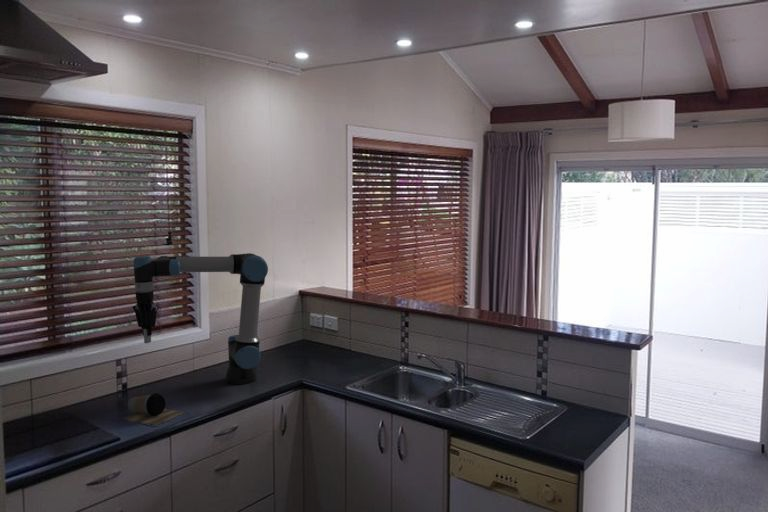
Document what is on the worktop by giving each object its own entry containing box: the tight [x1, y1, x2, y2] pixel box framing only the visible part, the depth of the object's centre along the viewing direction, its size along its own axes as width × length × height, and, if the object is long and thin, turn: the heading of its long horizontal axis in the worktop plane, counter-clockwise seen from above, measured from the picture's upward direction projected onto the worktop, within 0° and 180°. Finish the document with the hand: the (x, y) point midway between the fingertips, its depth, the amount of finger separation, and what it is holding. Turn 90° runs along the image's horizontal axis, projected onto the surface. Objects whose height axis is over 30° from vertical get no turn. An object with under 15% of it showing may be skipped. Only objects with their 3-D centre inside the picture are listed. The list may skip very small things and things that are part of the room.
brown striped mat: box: [122, 408, 185, 427], centre depth 266 cm, size 18×16×1 cm
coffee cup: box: [127, 392, 166, 416], centre depth 267 cm, size 9×9×15 cm
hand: (147, 342), depth 282 cm, fingers closed
